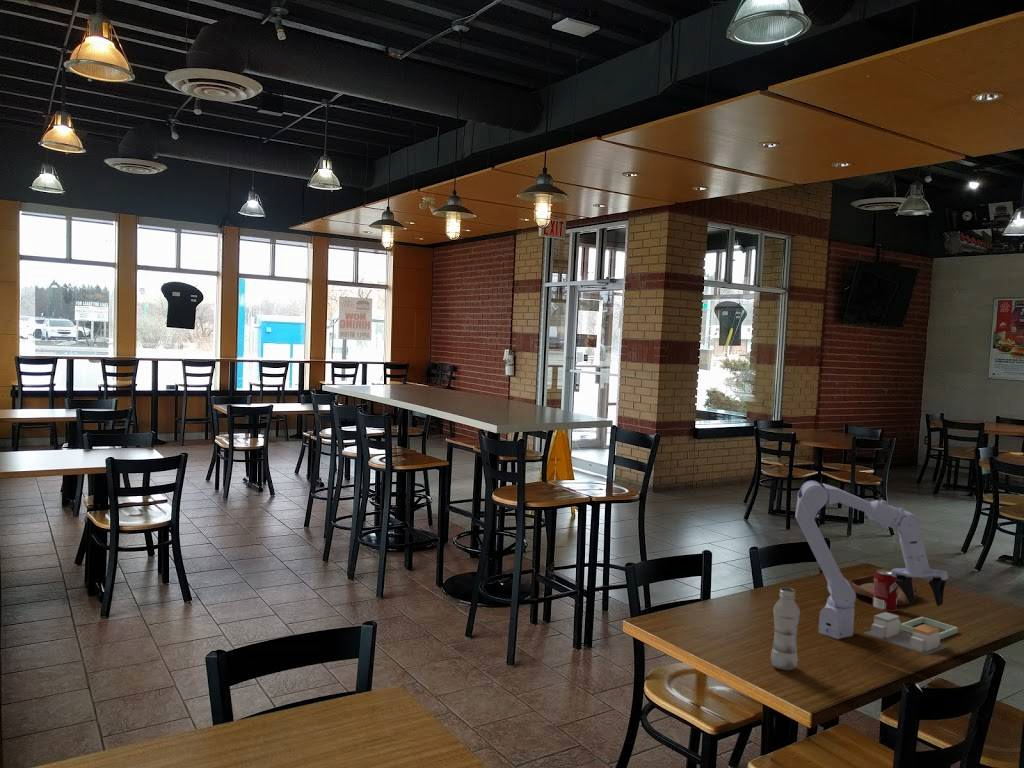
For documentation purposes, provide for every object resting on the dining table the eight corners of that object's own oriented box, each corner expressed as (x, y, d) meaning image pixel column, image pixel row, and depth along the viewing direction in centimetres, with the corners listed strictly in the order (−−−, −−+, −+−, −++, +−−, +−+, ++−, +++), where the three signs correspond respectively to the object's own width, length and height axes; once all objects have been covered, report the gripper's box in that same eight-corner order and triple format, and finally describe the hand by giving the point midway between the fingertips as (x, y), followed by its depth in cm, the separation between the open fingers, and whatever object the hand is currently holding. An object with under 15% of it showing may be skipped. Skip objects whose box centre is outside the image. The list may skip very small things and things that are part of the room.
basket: (898, 612, 236) (899, 596, 236) (835, 595, 251) (835, 581, 251) (925, 598, 251) (926, 583, 251) (864, 583, 266) (865, 569, 266)
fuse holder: (927, 657, 200) (928, 643, 200) (863, 635, 215) (863, 622, 215) (948, 649, 206) (949, 635, 206) (884, 628, 221) (884, 615, 221)
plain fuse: (886, 637, 212) (887, 619, 211) (873, 632, 215) (874, 615, 215) (898, 633, 215) (899, 616, 215) (884, 628, 218) (885, 611, 218)
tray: (936, 643, 210) (936, 635, 210) (899, 631, 219) (900, 624, 219) (957, 635, 217) (957, 627, 217) (921, 624, 226) (921, 616, 226)
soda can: (883, 614, 234) (885, 575, 233) (867, 606, 240) (869, 569, 240) (901, 612, 236) (903, 574, 235) (885, 605, 242) (887, 568, 241)
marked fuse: (927, 651, 203) (928, 632, 202) (912, 646, 206) (913, 628, 206) (938, 646, 206) (939, 628, 206) (923, 641, 209) (924, 623, 209)
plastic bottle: (790, 662, 194) (794, 585, 193) (802, 674, 187) (805, 594, 186) (766, 662, 194) (769, 585, 193) (776, 673, 187) (780, 594, 186)
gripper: (948, 551, 205) (960, 600, 205) (896, 549, 217) (907, 596, 217) (935, 559, 201) (947, 609, 201) (883, 557, 213) (894, 604, 213)
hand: (926, 603), depth 209 cm, fingers open, 7 cm apart
